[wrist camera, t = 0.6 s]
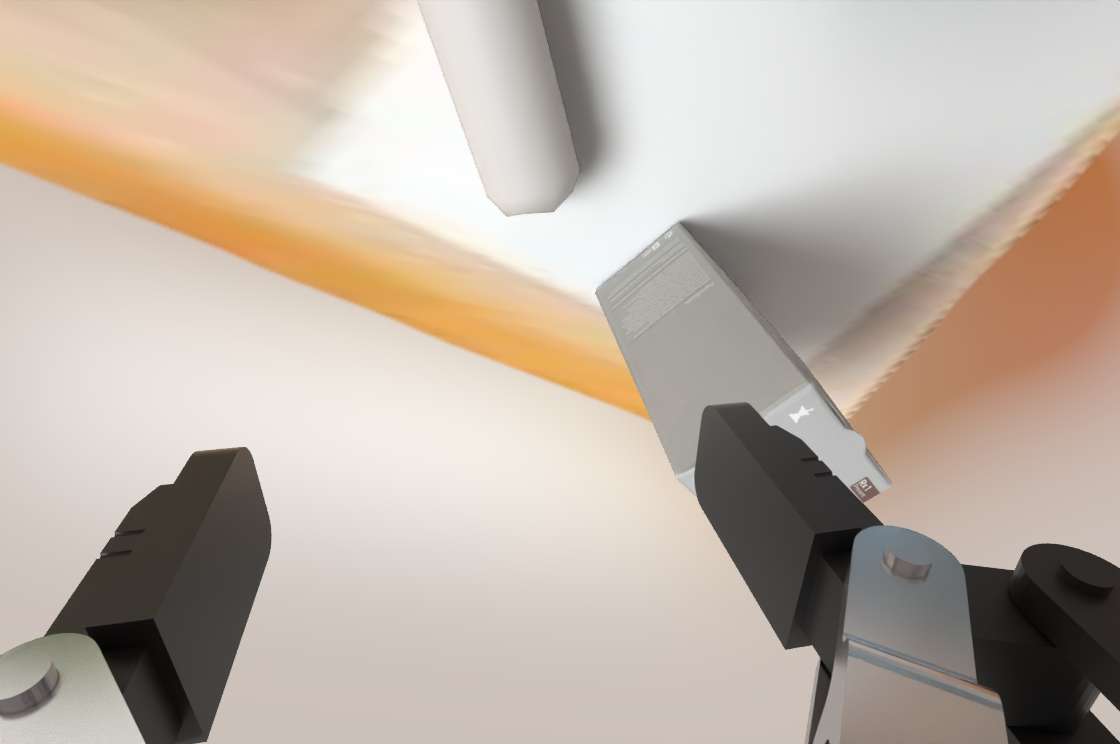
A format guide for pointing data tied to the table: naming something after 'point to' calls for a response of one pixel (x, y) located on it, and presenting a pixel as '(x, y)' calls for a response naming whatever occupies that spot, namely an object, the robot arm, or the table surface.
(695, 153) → the table surface
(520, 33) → the tube
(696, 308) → the skincare box
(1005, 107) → the table surface
